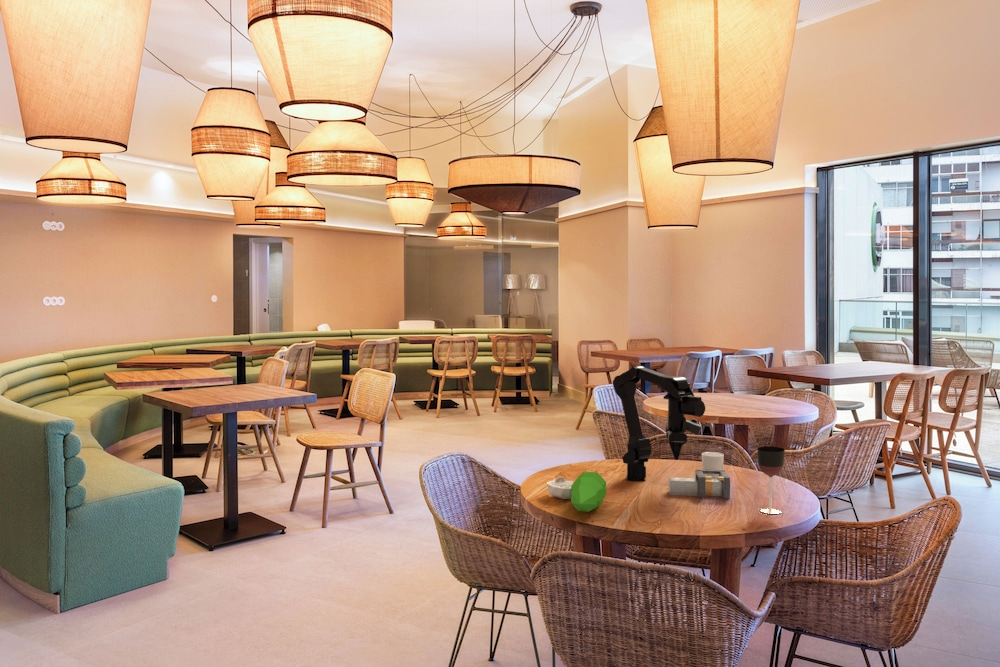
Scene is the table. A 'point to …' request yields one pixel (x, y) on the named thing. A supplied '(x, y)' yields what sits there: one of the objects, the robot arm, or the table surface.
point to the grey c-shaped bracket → (703, 478)
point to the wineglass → (770, 468)
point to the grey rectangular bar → (694, 487)
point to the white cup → (712, 462)
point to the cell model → (560, 488)
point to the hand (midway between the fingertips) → (675, 456)
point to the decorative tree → (588, 491)
